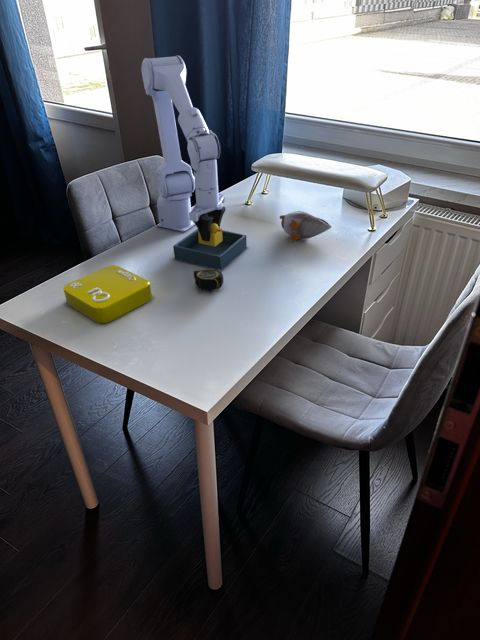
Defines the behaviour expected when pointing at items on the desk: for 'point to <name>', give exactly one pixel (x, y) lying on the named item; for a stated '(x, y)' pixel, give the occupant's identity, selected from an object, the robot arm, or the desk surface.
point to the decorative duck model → (303, 225)
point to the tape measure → (208, 279)
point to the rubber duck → (213, 236)
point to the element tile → (107, 293)
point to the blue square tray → (210, 250)
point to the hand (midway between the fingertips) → (210, 237)
